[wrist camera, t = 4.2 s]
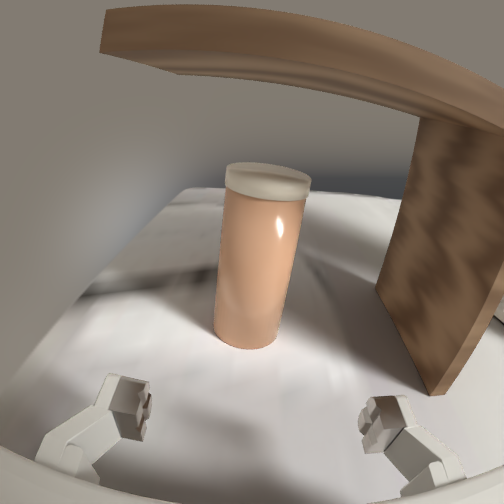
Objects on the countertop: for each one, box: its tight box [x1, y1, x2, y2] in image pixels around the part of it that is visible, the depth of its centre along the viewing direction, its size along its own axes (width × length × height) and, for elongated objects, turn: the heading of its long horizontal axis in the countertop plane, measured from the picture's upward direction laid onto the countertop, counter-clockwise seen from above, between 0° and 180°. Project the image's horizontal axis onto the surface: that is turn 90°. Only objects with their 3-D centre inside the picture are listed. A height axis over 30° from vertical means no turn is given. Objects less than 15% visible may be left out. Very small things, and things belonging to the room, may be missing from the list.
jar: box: [213, 162, 311, 349], centre depth 22 cm, size 5×5×12 cm
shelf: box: [100, 5, 504, 396], centre depth 21 cm, size 15×23×20 cm, turn 89°
